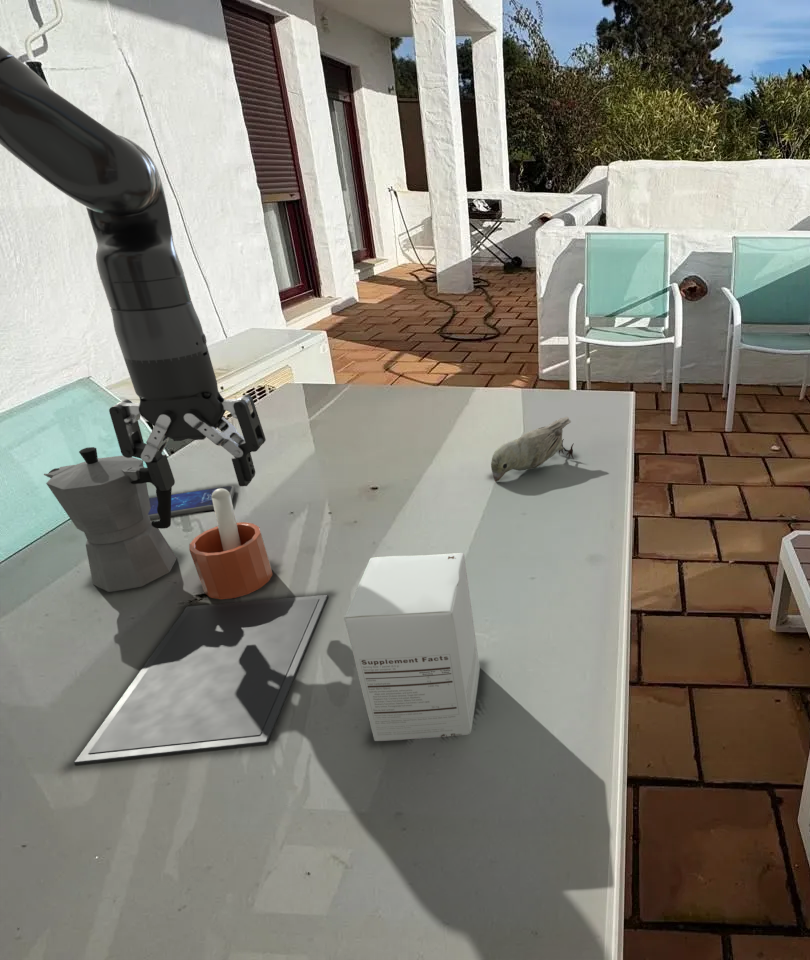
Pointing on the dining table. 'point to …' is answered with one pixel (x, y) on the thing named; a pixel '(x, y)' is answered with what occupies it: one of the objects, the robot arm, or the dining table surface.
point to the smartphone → (189, 502)
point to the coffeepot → (116, 518)
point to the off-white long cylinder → (226, 519)
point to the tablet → (211, 681)
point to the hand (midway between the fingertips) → (207, 485)
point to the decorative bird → (530, 449)
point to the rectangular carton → (415, 646)
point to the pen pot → (231, 562)
